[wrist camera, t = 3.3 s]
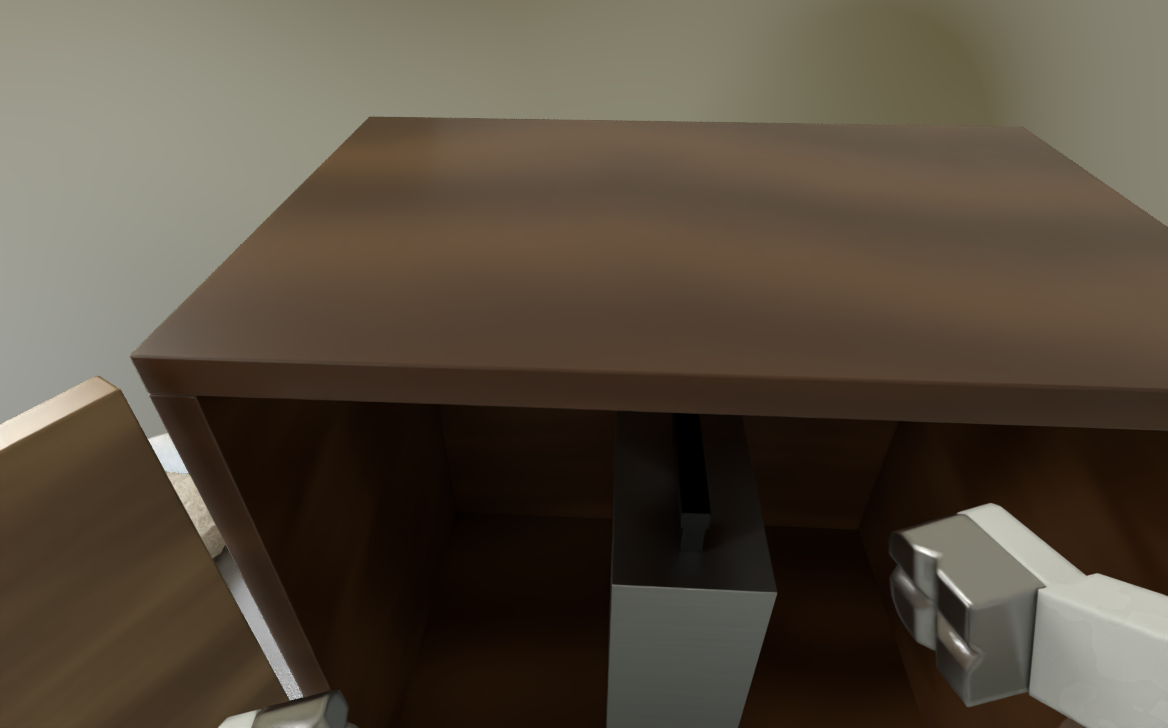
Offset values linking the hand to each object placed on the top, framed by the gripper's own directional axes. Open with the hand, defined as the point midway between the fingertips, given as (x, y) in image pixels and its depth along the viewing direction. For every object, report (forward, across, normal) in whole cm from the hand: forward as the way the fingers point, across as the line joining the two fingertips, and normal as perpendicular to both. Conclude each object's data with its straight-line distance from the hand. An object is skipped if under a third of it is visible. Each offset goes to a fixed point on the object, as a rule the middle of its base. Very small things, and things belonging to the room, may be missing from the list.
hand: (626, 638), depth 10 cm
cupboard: (+21, -2, +23) cm, 31 cm away
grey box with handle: (+18, -1, +22) cm, 28 cm away
